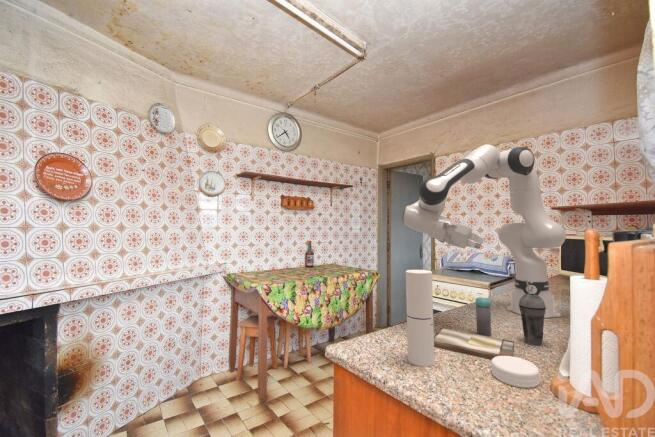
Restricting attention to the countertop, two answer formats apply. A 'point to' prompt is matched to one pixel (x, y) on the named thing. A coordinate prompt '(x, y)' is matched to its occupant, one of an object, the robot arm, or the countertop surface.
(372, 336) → the countertop surface
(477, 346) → the clipboard
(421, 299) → the cylindrical container
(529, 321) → the beverage cup
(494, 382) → the countertop surface
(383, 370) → the countertop surface
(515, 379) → the coaster
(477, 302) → the bottle
